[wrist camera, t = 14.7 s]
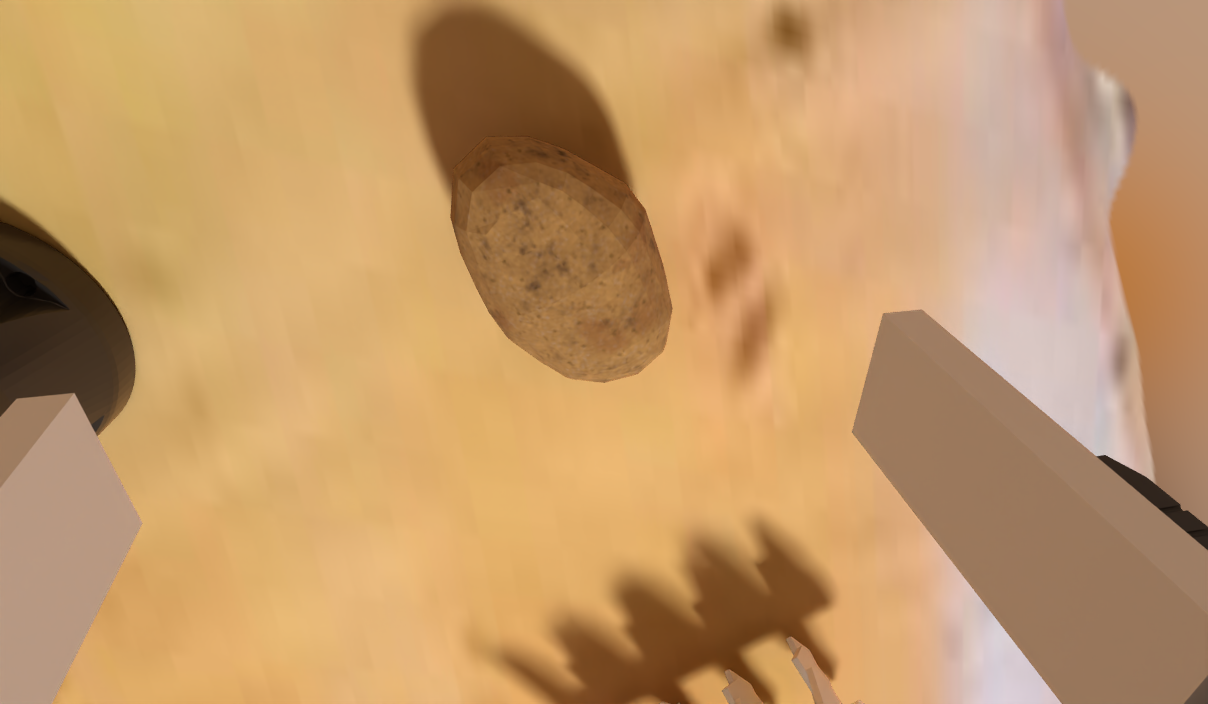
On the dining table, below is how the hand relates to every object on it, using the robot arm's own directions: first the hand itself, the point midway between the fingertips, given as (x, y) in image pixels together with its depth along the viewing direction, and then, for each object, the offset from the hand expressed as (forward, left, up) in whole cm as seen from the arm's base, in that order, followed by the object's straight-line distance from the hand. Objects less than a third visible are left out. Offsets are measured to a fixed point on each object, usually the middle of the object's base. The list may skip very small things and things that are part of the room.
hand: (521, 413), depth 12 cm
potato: (+1, -6, -27) cm, 28 cm away
